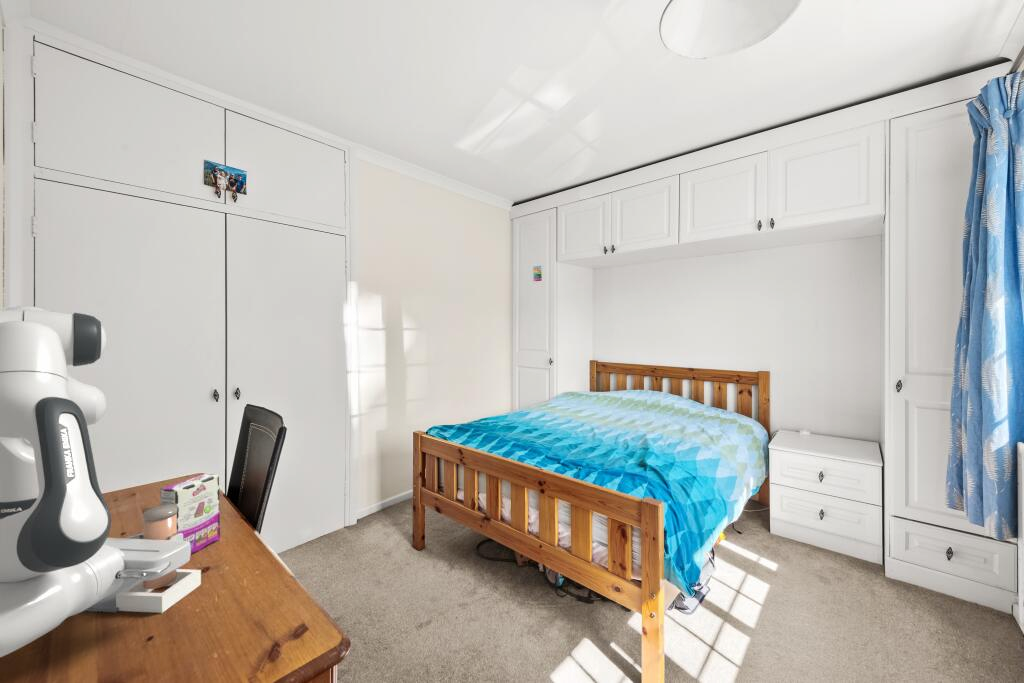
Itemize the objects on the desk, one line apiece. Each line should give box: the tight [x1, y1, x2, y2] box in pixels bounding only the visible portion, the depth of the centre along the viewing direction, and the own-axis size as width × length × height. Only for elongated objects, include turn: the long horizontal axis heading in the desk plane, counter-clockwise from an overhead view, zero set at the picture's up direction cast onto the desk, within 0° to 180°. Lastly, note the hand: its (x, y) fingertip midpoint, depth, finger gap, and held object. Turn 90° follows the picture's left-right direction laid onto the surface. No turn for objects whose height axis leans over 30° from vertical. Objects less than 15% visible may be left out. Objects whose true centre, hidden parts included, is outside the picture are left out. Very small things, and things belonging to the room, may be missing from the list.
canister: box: [142, 505, 178, 590], centre depth 83 cm, size 5×5×14 cm
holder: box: [116, 568, 202, 614], centre depth 83 cm, size 9×9×3 cm
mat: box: [83, 580, 139, 613], centre depth 85 cm, size 12×12×1 cm
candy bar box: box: [160, 473, 221, 555], centre depth 101 cm, size 11×5×16 cm, turn 168°
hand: (164, 535), depth 84 cm, fingers closed on canister, 5 cm apart
